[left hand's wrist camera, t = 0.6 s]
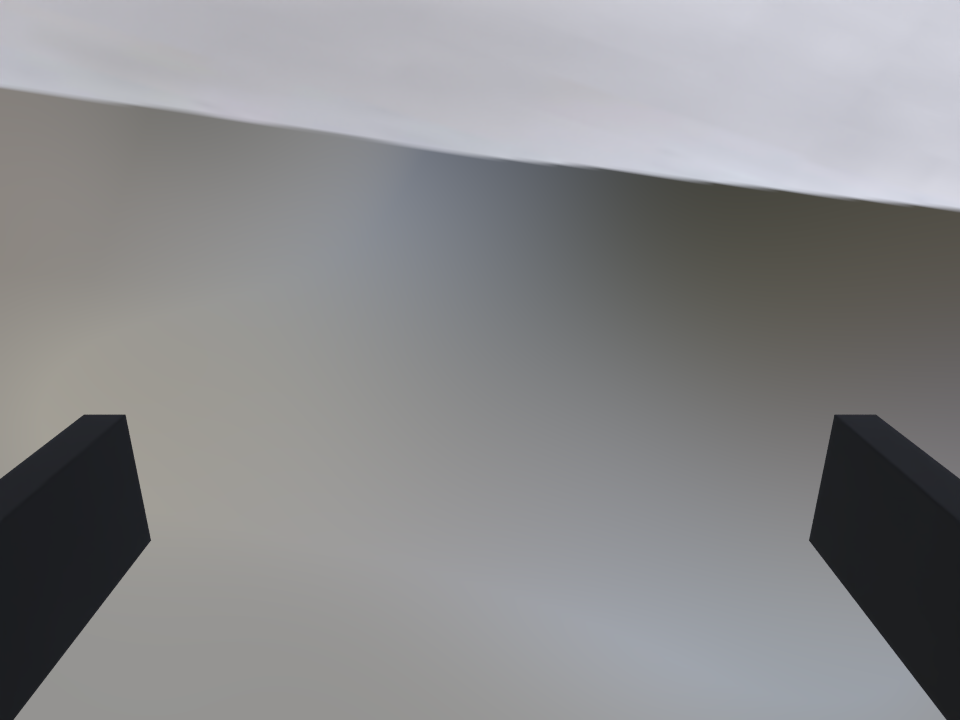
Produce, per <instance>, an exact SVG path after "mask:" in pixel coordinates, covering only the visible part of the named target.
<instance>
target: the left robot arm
mask: <svg viewBox="0 0 960 720" xmlns="http://www.w3.org/2000/svg"><path fill="white" fill-rule="evenodd" d="M150 541H151V539H150V534H149V529H148V524H147V519H146V514H145V509H144V504H143V499H142V494H141V489H140V484H139V479H138V475H137V469H136V465H135V460H134V455H133V450H132V445H131V440H130V435H129V430H128V425H127V420H126V415H83V416H82V417H80V418H79V419H78V420H76V421H75V422H74V423H73V424H71V425H70V426H69V427H67V428H66V429H65V430H64V431H62V432H61V433H60V434H58V435H57V436H56V437H54V438H53V439H52V440H50V441H49V442H48V443H46V444H45V445H44V446H43V447H41V448H40V449H39V450H37V451H36V452H35V453H33V454H32V455H31V456H30V457H28V458H27V459H26V460H24V461H23V462H22V463H20V464H19V465H18V466H17V467H15V468H14V469H13V470H11V471H10V472H9V473H7V474H6V475H5V476H3V477H2V478H1V479H0V720H14V718H15V717H16V716H17V714H18V713H19V712H20V710H21V709H22V708H23V707H24V705H25V704H26V703H27V701H28V700H29V699H30V697H31V696H32V695H33V694H34V692H35V691H36V690H37V688H38V687H39V686H40V684H41V683H42V682H43V680H44V679H45V678H46V677H47V675H48V674H49V673H50V671H51V670H52V669H53V667H54V666H55V665H56V663H57V662H58V661H59V660H60V658H61V657H62V656H63V654H64V653H65V652H66V650H67V649H68V648H69V647H70V645H71V644H72V643H73V641H74V640H75V639H76V637H77V636H78V635H79V634H80V632H81V631H82V630H83V628H84V627H85V626H86V624H87V623H88V622H89V620H90V619H91V618H92V617H93V615H94V614H95V613H96V611H97V610H98V609H99V607H100V606H101V605H102V603H103V602H104V601H105V600H106V598H107V597H108V596H109V594H110V593H111V592H112V590H113V589H114V588H115V587H116V585H117V584H118V583H119V581H120V580H121V579H122V577H123V576H124V575H125V573H126V572H127V571H128V570H129V568H130V567H131V566H132V564H133V563H134V562H135V560H136V559H137V558H138V557H139V555H140V554H141V553H142V551H143V550H144V549H145V547H146V546H147V545H148V543H149V542H150ZM809 541H810V542H811V543H812V545H813V546H814V547H815V549H816V550H817V551H818V553H819V554H820V555H821V557H822V558H823V559H824V560H825V562H826V563H827V564H828V566H829V567H830V568H831V569H832V571H833V572H834V574H835V575H836V576H837V577H838V579H839V580H840V581H841V583H842V584H843V585H844V586H845V588H846V589H847V590H848V592H849V593H850V594H851V596H852V597H853V598H854V600H855V601H856V602H857V603H858V605H859V606H860V607H861V609H862V610H863V611H864V613H865V614H866V615H867V617H868V618H869V619H870V620H871V622H872V623H873V624H874V626H875V627H876V628H877V629H878V631H879V632H880V634H881V635H882V636H883V637H884V639H885V640H886V641H887V643H888V644H889V645H890V647H891V648H892V649H893V650H894V652H895V653H896V654H897V656H898V657H899V658H900V660H901V661H902V662H903V663H904V665H905V666H906V667H907V669H908V670H909V671H910V673H911V674H912V675H913V677H914V678H915V679H916V680H917V682H918V683H919V684H920V686H921V687H922V688H923V690H924V691H925V692H926V693H927V695H928V696H929V697H930V699H931V700H932V701H933V703H934V704H935V705H936V707H937V708H938V709H939V710H940V712H941V713H942V714H943V716H944V717H945V718H946V720H960V479H959V478H958V477H957V476H955V475H954V474H953V473H951V472H950V471H949V470H947V469H946V468H945V467H943V466H942V465H941V464H940V463H938V462H937V461H936V460H934V459H933V458H932V457H930V456H929V455H928V454H927V453H925V452H924V451H923V450H921V449H920V448H919V447H917V446H916V445H915V444H914V443H912V442H911V441H910V440H908V439H907V438H906V437H904V436H903V435H902V434H900V433H899V432H898V431H897V430H895V429H894V428H893V427H891V426H890V425H889V424H887V423H886V422H885V421H883V420H882V419H881V418H880V417H878V416H877V415H834V420H833V425H832V430H831V435H830V440H829V445H828V450H827V455H826V460H825V465H824V470H823V474H822V479H821V485H820V489H819V494H818V499H817V504H816V509H815V514H814V519H813V524H812V529H811V534H810V539H809Z"/></svg>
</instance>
